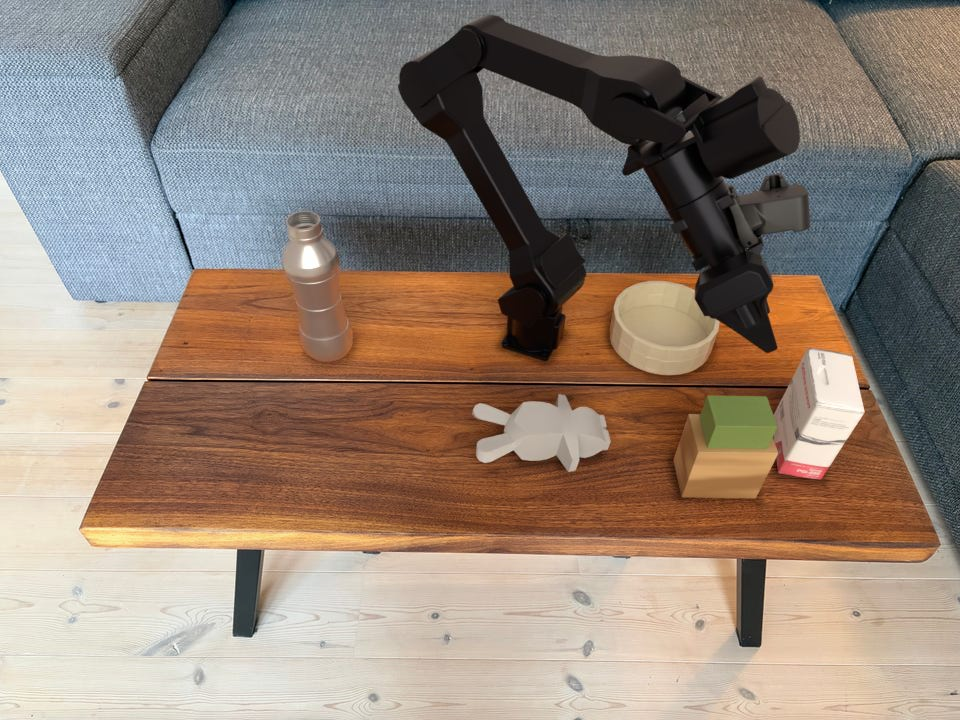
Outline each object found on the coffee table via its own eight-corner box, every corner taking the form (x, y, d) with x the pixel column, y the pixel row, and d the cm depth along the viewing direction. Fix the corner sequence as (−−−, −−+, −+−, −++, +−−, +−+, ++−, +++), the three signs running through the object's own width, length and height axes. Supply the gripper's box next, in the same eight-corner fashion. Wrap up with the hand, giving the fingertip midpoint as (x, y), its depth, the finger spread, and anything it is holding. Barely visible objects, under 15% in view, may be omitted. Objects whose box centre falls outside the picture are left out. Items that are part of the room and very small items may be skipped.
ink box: (824, 482, 79) (867, 412, 70) (777, 474, 79) (813, 404, 71) (815, 423, 85) (853, 351, 76) (770, 416, 85) (803, 344, 77)
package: (767, 449, 72) (777, 426, 69) (707, 448, 72) (715, 426, 69) (756, 418, 75) (766, 395, 72) (699, 417, 75) (707, 395, 72)
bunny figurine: (620, 453, 76) (480, 451, 74) (608, 481, 80) (474, 480, 78) (602, 387, 83) (473, 383, 81) (591, 416, 86) (468, 413, 84)
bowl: (721, 376, 90) (730, 350, 87) (615, 374, 90) (621, 349, 87) (699, 306, 99) (707, 281, 96) (604, 305, 99) (608, 279, 96)
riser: (755, 498, 77) (778, 453, 71) (681, 497, 77) (698, 452, 71) (744, 460, 81) (765, 414, 75) (673, 459, 81) (688, 413, 75)
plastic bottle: (341, 374, 89) (317, 242, 75) (293, 361, 91) (260, 230, 77) (364, 340, 94) (344, 210, 79) (317, 328, 95) (290, 198, 81)
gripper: (790, 168, 55) (873, 334, 59) (771, 132, 71) (837, 264, 75) (658, 237, 60) (742, 386, 64) (668, 189, 76) (735, 310, 80)
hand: (768, 331), depth 71 cm, fingers open, 9 cm apart
